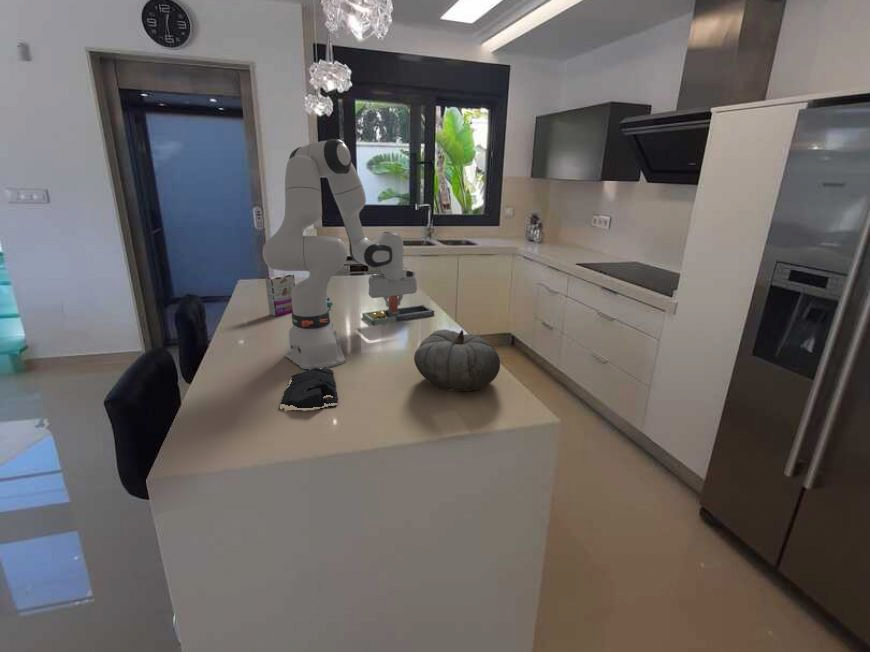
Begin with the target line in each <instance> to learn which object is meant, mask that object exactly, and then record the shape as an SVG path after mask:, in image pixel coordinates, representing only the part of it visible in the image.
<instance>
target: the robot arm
mask: <svg viewBox="0 0 870 652" xmlns="http://www.w3.org/2000/svg"><path fill="white" fill-rule="evenodd" d="M351 153H352V152H351V150H350V148H349V147H348V145H347V144H346V143H345V142H344V141H343V140H341V139H338V138H330V139H327V140H321V141H316V142H311V143H308V144H306V145H304V146H299V147H297V148H296V149H294V150H293V151H292V152H291V153H290V155H289V157H288V158H289V159H288V161H287V163H286V169H285V176H284V199H285V200H284V202H285V204H284V207H285V208H284V216H283V220H282V223H281V225H280V227H278V230H277V231H276V232H275V233H274V234H273V235H272V236H271V237H269V238H267V240H266V241H265V243H264V244H263V247H262V259H263V261H264V263H265V264H266V265H267V266H268V267H269V268H270V269H272V270H277V271H283V272H309V276H308V277H307V278H306V279H303V280H301V281H300V282H298V283H295V286H294V287H293V289H292V292H291V297H292V308H293V312H291V322H292V326H291V328H290V329H289V330H288V344H289V345H288V346H289V347H288V350H287V351H285V352H284V357H286V358H287V357H288V358H289V359H290V360H289V359H288V358H287V359H288V360H289V361H291V360H292V361H293V362H294V364H295V363H296V364H297V365H299V366H300V367H301V368H303V369H313V368H322V369H325V368H324V367H327V368H330V366H332V367H336V366H339V365H341V364H344V363H345V362H346V358H345V356H344V352H343V349H342V346H341V344H342V342H341V341H342V340H341V337H340V336H339V337H338V336H337V337H336V335H338V333H337V330H334V327H333V325H334V324H332V323H331V315H330V312H329V309H327V308H328V307H327V302H328V301H327V298H328V289H329V288H328V286H329V284H330V281H331V279H332V278H333V276H334V275H335V274H336V273H337V272H338V271H339V270H340V269H342V268H343V266H344V265H345V263H346V262H347V258H348V251H349V255H350V258H351V259H352V260H353V261H354V262H355V263H356V264H359V265H364V266H367V267H370V268H379V267H381V273H377V274H371V275H370V276H369V278H368V296H370V298H372V299H378V298H379V299H380V298H383V300H384V301H385V306H386V307H387V308H389V307H390V306H391V302H389V296H396V295H398V306H401V301H402V300H403V298H404V295H409V294H410V295H411V294H416V292H417V290H418V284H417V279H416V277H415V276H416V272H415V271H414V270H412V269H409V268H406V267H405V265H404V256H405V255H404V254H405V252H404V251H405V249H404V239H403V236H402V235H401V234H400V233H398V232H393V231H383V232H382V233H381V234H380V236H379V235H378V236H377V237H375V239H372V240H370V239H369V238H367V237H366V234H365V232H364V230H363V229H364V228H363V226H362V223H361V220H360V213H361V211H362V210H363V209H364V207H365V205H366V202H367V197H366V193H365V189H364V187H363V184H362V181H361V179H360V178H361V177H360V176H359V174H358V172H357V170H356V168H355V165H353V164H354V163H352V154H351ZM321 178H326V179H327V181H328V185H329V188H330V191H331V193H332V196H333V198H334V201H335V204H336V206H337V207H338V210H339V213H340V216H341V220H342V221H343V225H344V229H345V231H346V234H347V237H348V238H347V239H348V242H349V249H347V246H346V244H345V242H344V240H342V239H341V238H338V237H335V236H334V237H333V236H330V235H329V236H328V235H304V231H305V230H306V229H307V228H309V227H310V226H312V225H315V224H316V223H318V222H319V221H320V220H321V218H322V216H323V205H322V204H323V203H322V186H321V185H322V184H321ZM292 361H291V362H292ZM293 362H292V363H293ZM296 364H295V365H296ZM297 365H296V366H297ZM335 365H336V366H335ZM299 366H298V367H299ZM300 367H299V368H300ZM301 368H300V369H301ZM303 369H302V370H303Z"/></svg>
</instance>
